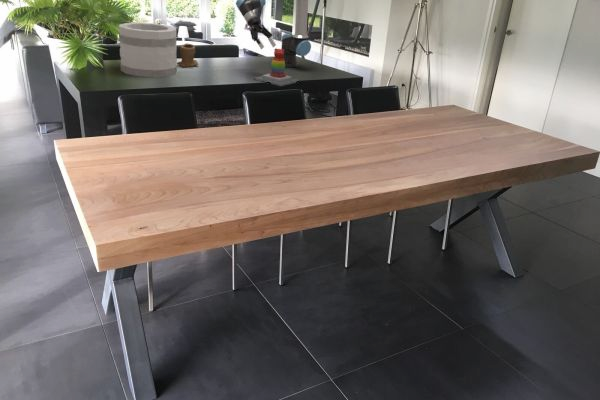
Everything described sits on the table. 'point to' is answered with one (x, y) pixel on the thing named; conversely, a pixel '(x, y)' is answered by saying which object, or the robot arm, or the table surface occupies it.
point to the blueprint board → (277, 80)
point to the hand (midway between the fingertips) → (268, 47)
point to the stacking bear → (278, 64)
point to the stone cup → (187, 55)
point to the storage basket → (148, 49)
